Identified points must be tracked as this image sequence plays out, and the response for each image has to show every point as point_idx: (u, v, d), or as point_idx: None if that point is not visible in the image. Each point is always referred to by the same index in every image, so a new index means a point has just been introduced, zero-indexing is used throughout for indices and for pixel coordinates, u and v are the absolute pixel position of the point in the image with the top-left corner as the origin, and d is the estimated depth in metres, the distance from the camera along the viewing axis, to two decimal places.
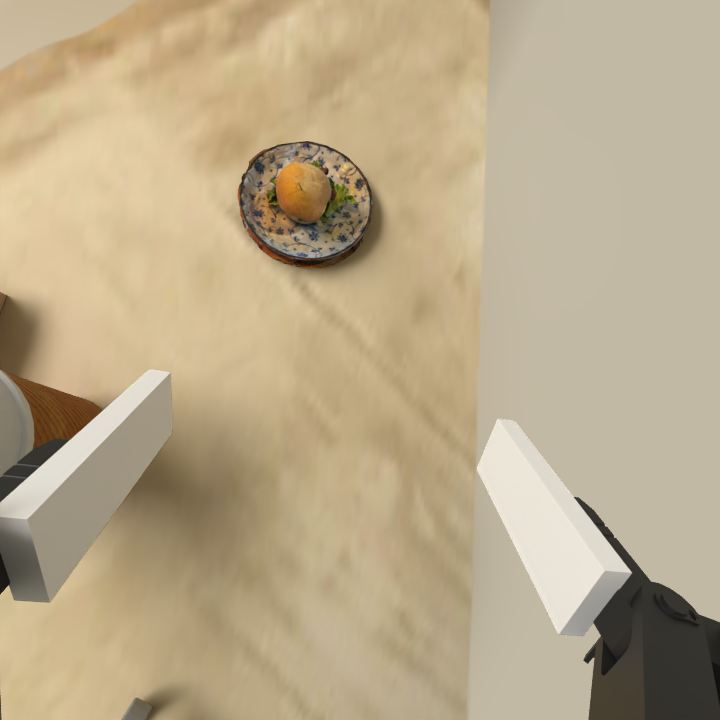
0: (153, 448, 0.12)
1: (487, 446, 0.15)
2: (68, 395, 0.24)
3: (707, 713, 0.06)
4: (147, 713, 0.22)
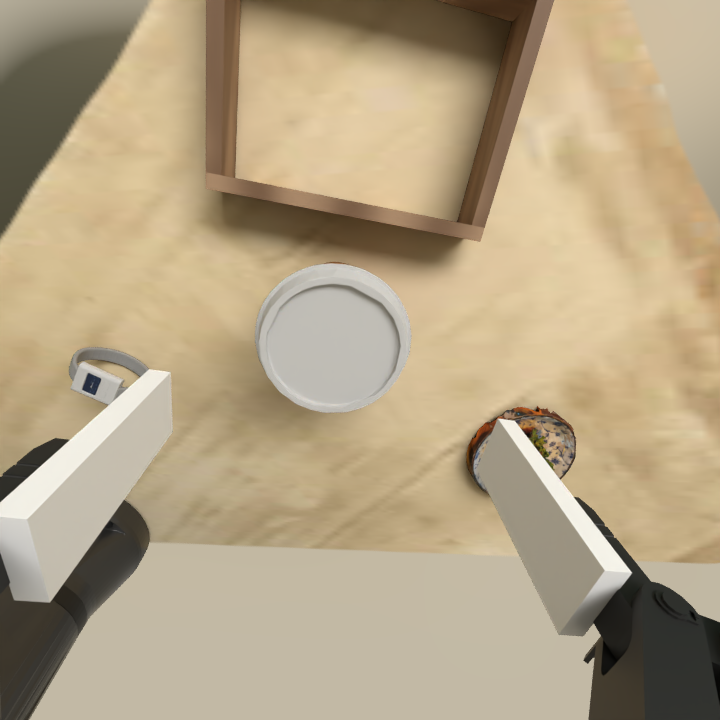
0: (153, 448, 0.12)
1: (487, 446, 0.15)
2: None
3: (707, 713, 0.06)
4: None
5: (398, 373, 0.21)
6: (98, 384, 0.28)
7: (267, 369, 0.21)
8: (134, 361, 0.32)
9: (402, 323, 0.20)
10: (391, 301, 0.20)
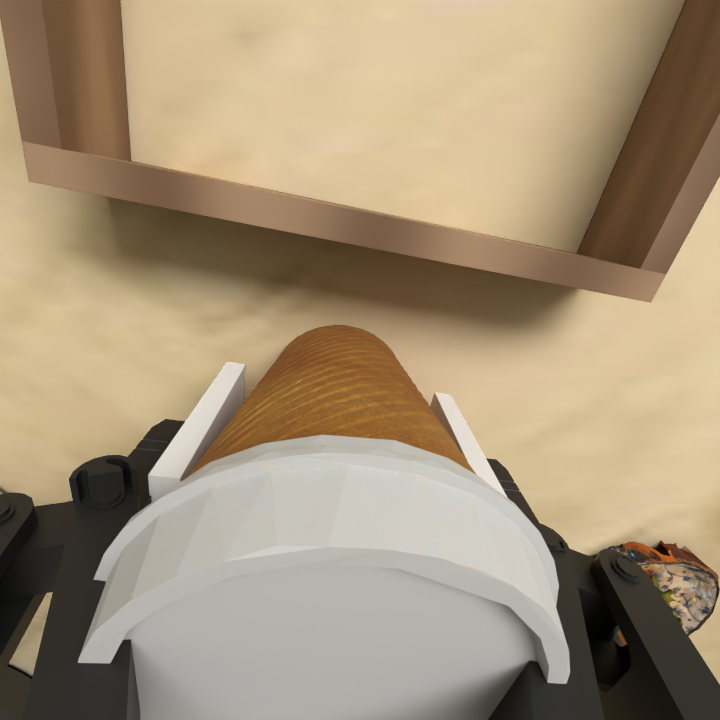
0: None
1: None
2: None
3: (575, 630, 0.07)
4: None
5: None
6: None
7: None
8: None
9: (565, 644, 0.06)
10: (537, 585, 0.06)
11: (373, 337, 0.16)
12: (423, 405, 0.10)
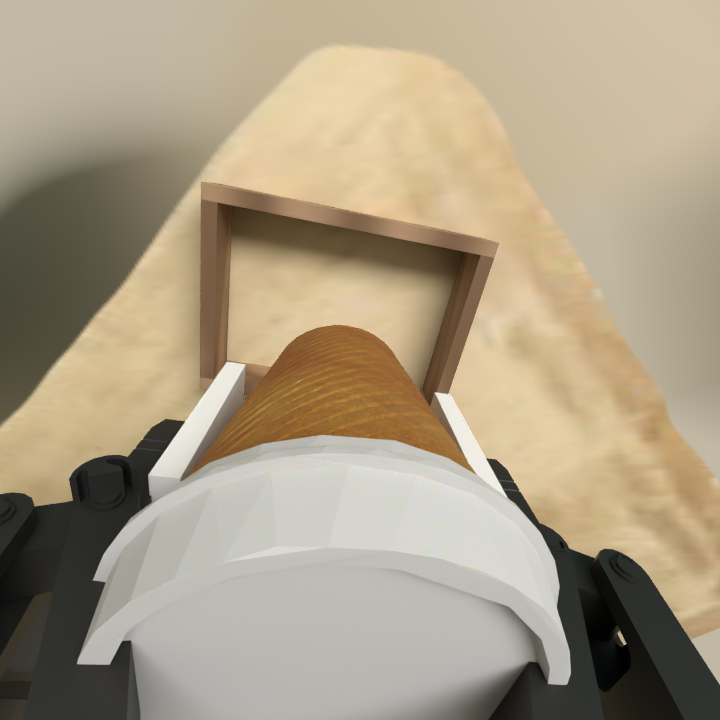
0: None
1: None
2: None
3: (575, 630, 0.07)
4: None
5: None
6: None
7: None
8: None
9: (566, 645, 0.06)
10: (537, 586, 0.06)
11: (373, 337, 0.16)
12: (423, 405, 0.10)
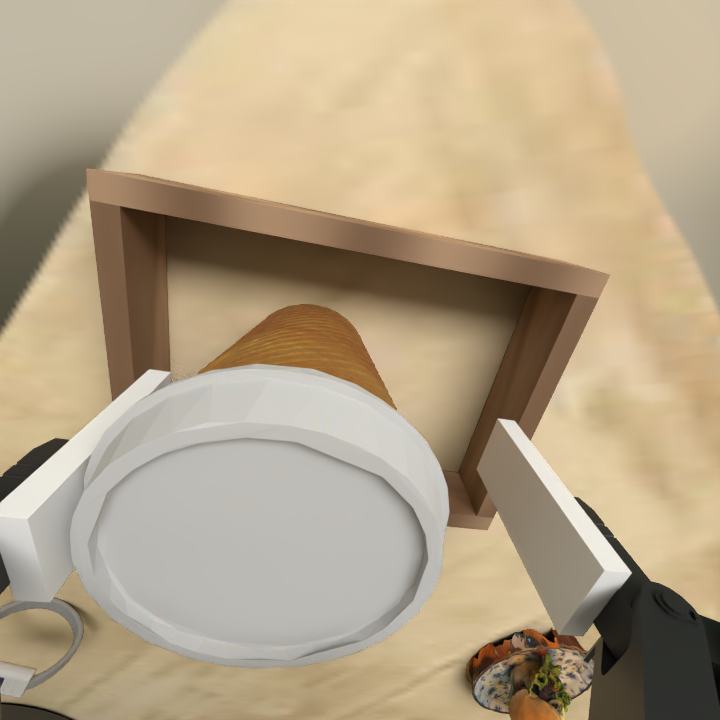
0: None
1: (487, 446, 0.15)
2: None
3: (707, 713, 0.06)
4: None
5: (420, 604, 0.09)
6: (2, 680, 0.22)
7: (106, 606, 0.09)
8: (61, 606, 0.27)
9: (435, 515, 0.08)
10: (408, 466, 0.08)
11: (336, 314, 0.18)
12: (362, 361, 0.12)
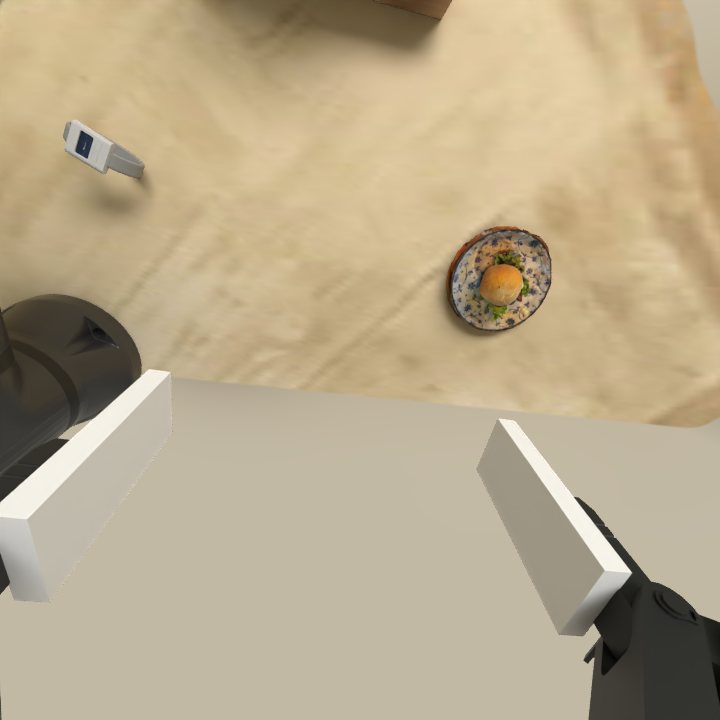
0: (153, 448, 0.12)
1: (487, 446, 0.15)
2: None
3: (707, 713, 0.06)
4: (137, 177, 0.33)
5: None
6: (91, 145, 0.30)
7: None
8: (126, 153, 0.34)
9: None
10: None
11: None
12: None
